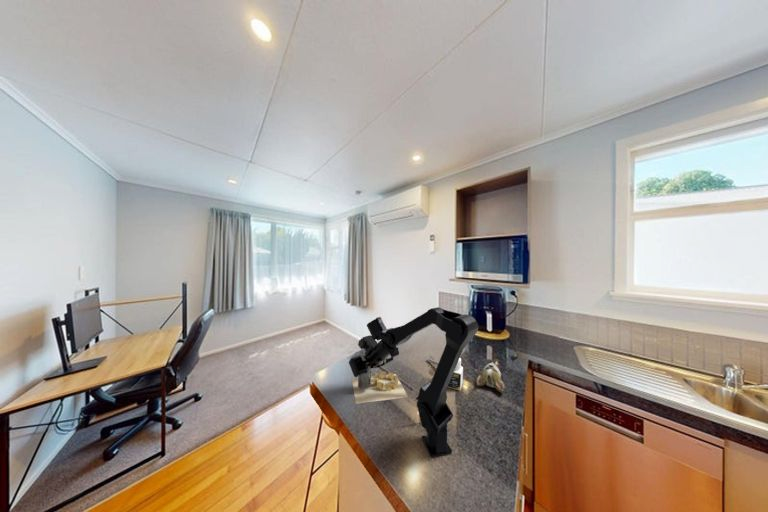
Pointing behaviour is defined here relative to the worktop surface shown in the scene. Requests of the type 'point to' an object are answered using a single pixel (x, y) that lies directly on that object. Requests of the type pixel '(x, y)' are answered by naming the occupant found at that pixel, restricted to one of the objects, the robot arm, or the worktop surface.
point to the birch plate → (377, 391)
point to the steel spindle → (364, 375)
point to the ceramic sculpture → (491, 377)
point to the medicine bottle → (457, 377)
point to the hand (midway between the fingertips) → (362, 370)
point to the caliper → (433, 361)
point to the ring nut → (387, 385)
